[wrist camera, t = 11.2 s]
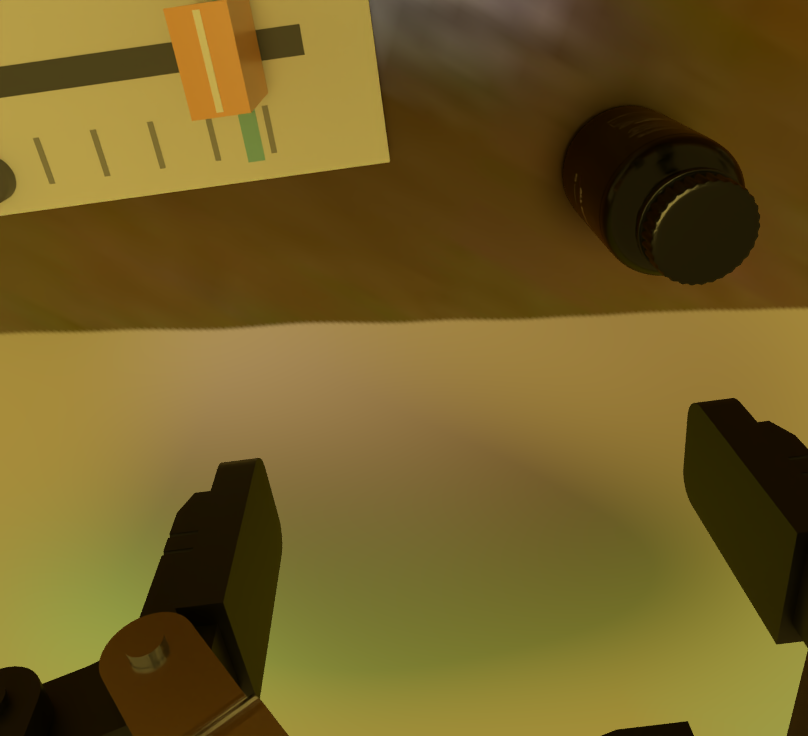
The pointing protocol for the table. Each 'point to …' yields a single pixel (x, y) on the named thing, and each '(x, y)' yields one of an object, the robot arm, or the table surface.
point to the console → (175, 101)
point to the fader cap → (217, 57)
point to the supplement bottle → (661, 195)
